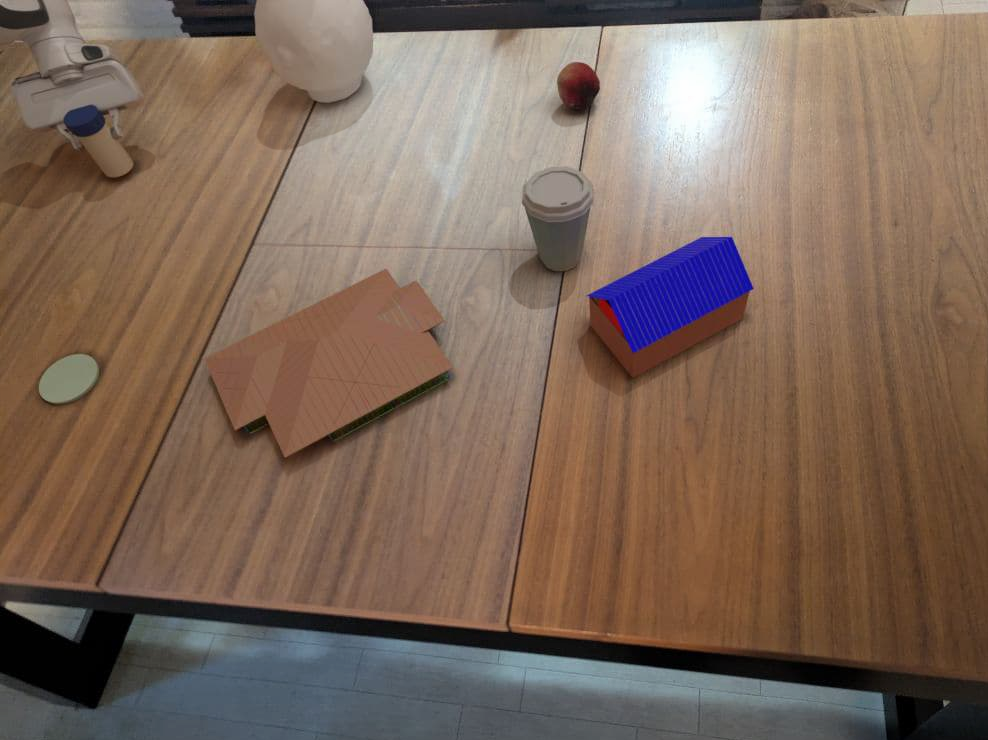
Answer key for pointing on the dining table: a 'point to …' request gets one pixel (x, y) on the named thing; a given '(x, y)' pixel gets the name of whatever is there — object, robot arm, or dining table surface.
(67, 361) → the coaster
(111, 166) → the jar
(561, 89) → the fruit
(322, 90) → the vase
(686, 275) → the house
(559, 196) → the disposable coffee cup
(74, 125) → the lid
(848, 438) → the dining table surface
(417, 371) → the brown flat stepped piece
